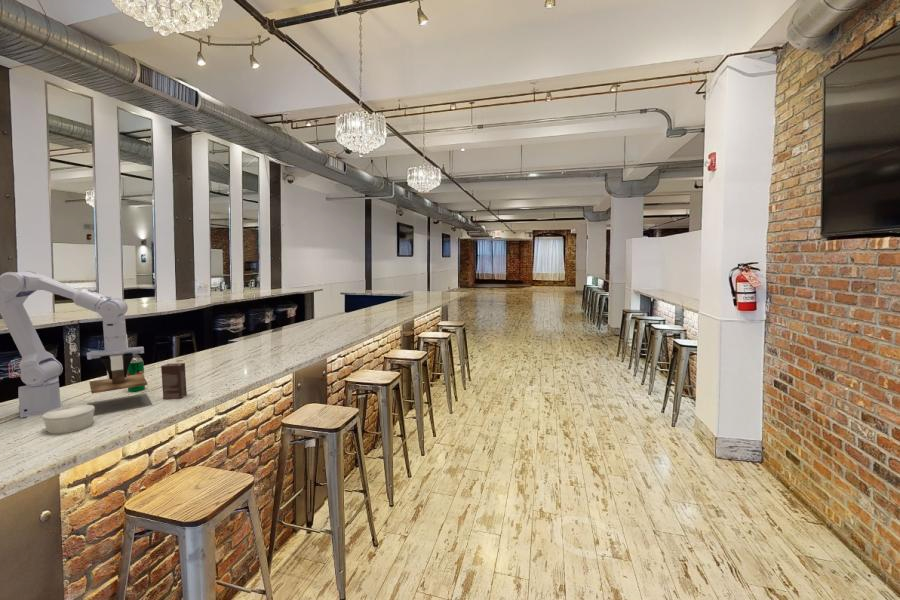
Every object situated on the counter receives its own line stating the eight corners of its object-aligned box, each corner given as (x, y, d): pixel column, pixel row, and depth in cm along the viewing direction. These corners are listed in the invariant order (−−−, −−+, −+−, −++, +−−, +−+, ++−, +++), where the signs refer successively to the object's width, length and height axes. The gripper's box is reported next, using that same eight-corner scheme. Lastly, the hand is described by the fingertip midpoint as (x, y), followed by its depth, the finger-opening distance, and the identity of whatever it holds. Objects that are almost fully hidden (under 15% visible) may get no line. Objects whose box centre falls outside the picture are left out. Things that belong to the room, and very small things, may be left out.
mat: (89, 418, 130) (89, 416, 129) (87, 404, 141) (87, 403, 141) (153, 406, 140) (152, 405, 140) (146, 394, 152) (146, 393, 152)
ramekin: (82, 419, 129) (80, 402, 129) (104, 424, 125) (103, 407, 125) (34, 432, 119) (33, 414, 118) (57, 439, 115) (56, 420, 114)
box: (187, 395, 151) (185, 362, 150) (181, 399, 147) (179, 365, 146) (168, 396, 150) (166, 362, 149) (162, 400, 146) (160, 366, 145)
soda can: (136, 393, 153) (134, 360, 152) (124, 392, 154) (122, 360, 153) (148, 389, 158) (146, 357, 157) (137, 388, 159) (135, 356, 158)
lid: (91, 393, 130) (90, 379, 130) (89, 383, 141) (88, 370, 140) (147, 384, 139) (146, 372, 139) (141, 376, 150) (141, 364, 149)
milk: (108, 388, 159) (103, 329, 156) (111, 384, 164) (106, 327, 162) (128, 386, 162) (124, 328, 159) (130, 382, 167) (126, 326, 165)
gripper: (86, 341, 131) (89, 384, 132) (144, 335, 140) (146, 376, 142) (85, 337, 136) (88, 379, 137) (141, 332, 146) (143, 371, 147)
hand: (118, 377), depth 140 cm, fingers closed on lid, 3 cm apart
